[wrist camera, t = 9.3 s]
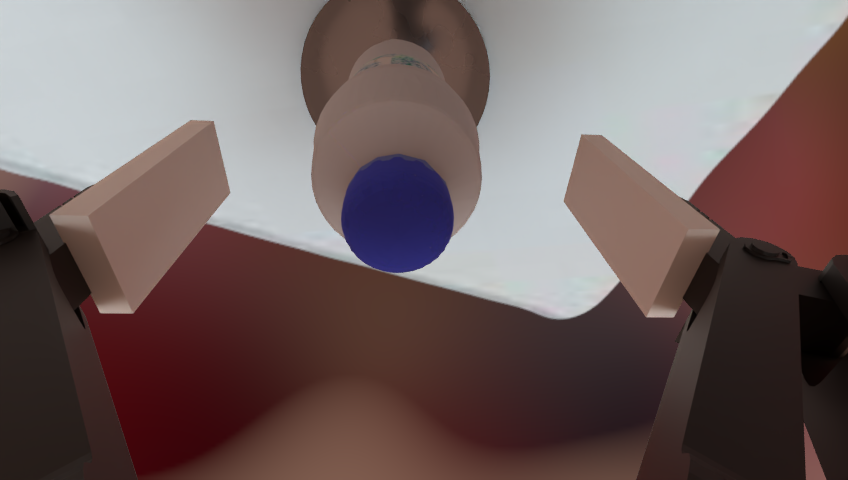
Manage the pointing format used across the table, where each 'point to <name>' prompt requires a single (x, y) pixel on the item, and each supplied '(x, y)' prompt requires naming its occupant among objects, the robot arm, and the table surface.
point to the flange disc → (394, 19)
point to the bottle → (396, 159)
